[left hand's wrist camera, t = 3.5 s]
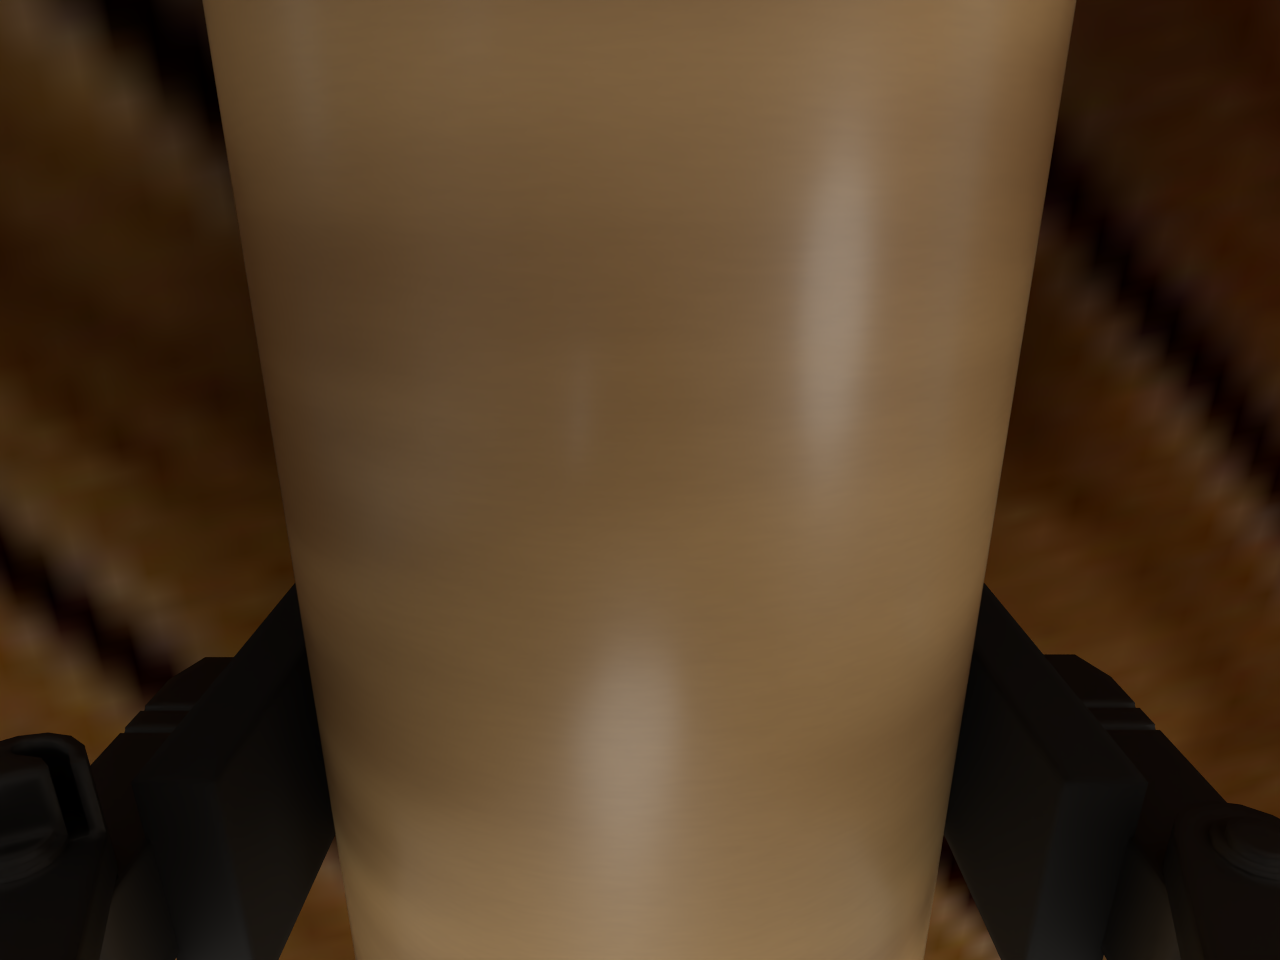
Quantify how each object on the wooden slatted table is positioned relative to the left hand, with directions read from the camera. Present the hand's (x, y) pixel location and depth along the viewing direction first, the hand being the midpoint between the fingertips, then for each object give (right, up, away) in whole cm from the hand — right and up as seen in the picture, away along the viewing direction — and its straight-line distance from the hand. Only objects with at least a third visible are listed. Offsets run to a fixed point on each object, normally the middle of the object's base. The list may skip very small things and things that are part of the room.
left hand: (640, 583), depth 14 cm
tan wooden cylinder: (0, +7, -2) cm, 7 cm away
